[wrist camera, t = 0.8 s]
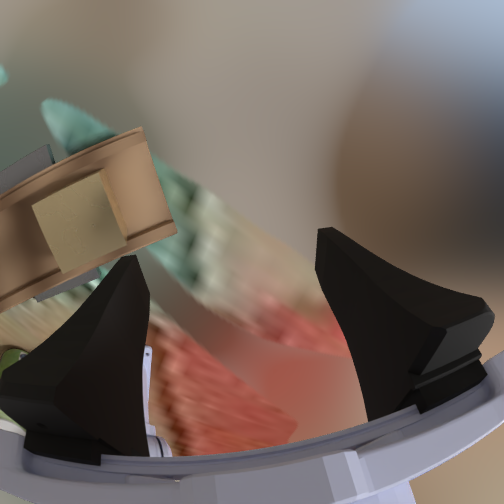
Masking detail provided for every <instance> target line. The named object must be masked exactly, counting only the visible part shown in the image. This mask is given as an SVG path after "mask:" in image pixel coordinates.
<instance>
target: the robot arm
mask: <svg viewBox="0 0 504 504" xmlns="http://www.w3.org/2000/svg"><path fill="white" fill-rule="evenodd" d="M315 271H316V274H317V277H318V280H319V283H320V286H321V289H322V291H323V293H324V295H325V297H326V299H327V301H328V303H329V305H330V307H331V309H332V311H333V313H334V315H335V317H336V319H337V321H338V323H339V325H340V327H341V329H342V332H343V334H344V336H345V339H346V341H347V344H348V347H349V350H350V353H351V356H352V359H353V362H354V366H355V369H356V372H357V376H358V379H359V383H360V387H361V391H362V394H363V399H364V403H365V408H366V413H367V418H368V422H367V423H364V424H361V425H358V426H355V427H352V428H348V429H345V430H342V431H338V432H335V433H331V434H327V435H323V436H320V437H316V438H312V439H307V440H303V441H299V442H294V443H289V444H284V445H279V446H274V447H268V448H262V449H256V450H249V451H241V452H233V453H224V454H214V455H201V456H182V457H172V452H171V449H170V447H169V445H168V444H167V442H166V441H165V439H164V438H162V437H158V436H156V433H155V426H152V425H149V416H148V399H149V383H150V369H151V357H152V348H151V347H150V346H145V343H146V336H147V329H148V321H149V311H150V292H149V290H148V287H147V284H146V282H145V279H144V276H143V273H142V271H141V268H140V265H139V262H138V259H137V256H136V255H130V256H124V257H121V258H120V260H118V262H117V263H116V264H115V265H114V266H113V268H112V269H111V270H110V271H109V273H108V274H107V275H106V276H105V278H104V279H103V280H102V281H101V283H100V284H99V285H98V286H97V288H96V289H95V290H94V291H93V292H92V294H91V295H90V296H89V297H88V298H87V299H86V301H85V302H84V303H83V304H82V305H81V306H80V308H79V309H78V310H77V311H76V312H75V313H74V314H73V315H72V316H71V317H70V318H69V319H68V320H67V321H66V322H65V323H64V324H63V325H62V326H61V327H60V328H59V329H58V330H57V331H55V332H54V333H53V334H52V335H51V336H50V337H49V338H48V339H46V340H45V341H44V342H43V343H42V344H40V345H39V346H38V347H37V348H35V349H34V350H33V351H31V352H30V353H29V354H27V355H26V356H24V357H23V358H21V359H20V360H18V361H17V362H15V363H14V364H12V365H10V366H9V367H7V368H6V369H4V370H3V372H2V375H1V378H0V410H1V411H3V412H4V413H5V414H6V415H7V416H8V417H10V418H11V419H12V420H14V421H15V422H16V423H18V424H19V425H20V426H22V427H23V428H24V429H26V435H25V436H23V435H20V434H18V433H14V432H10V431H6V430H3V429H0V490H2V491H5V492H7V493H9V494H12V495H14V496H16V497H19V498H21V499H24V500H27V501H29V502H32V503H35V504H416V502H415V499H414V496H413V494H412V490H411V487H410V484H409V482H408V481H410V480H412V479H414V478H416V477H418V476H420V475H422V474H424V473H426V472H428V471H430V470H432V469H433V468H435V467H437V466H439V465H441V464H442V463H444V462H446V461H448V460H449V459H451V458H453V457H455V456H456V455H458V454H460V453H461V452H463V451H464V450H466V449H467V448H469V447H470V446H472V445H474V444H475V443H476V442H478V441H479V440H481V439H482V438H484V437H485V436H487V435H488V434H489V433H491V432H492V431H493V430H495V429H496V428H498V427H499V426H500V425H501V424H503V423H504V350H503V351H502V352H500V353H499V354H497V355H495V356H494V357H492V358H490V359H489V360H487V361H486V362H485V363H484V364H483V365H482V364H481V362H480V361H479V359H480V358H481V356H482V354H481V353H480V351H479V349H478V347H479V346H480V344H481V343H482V342H483V340H484V339H485V337H486V336H487V334H488V333H489V331H490V329H491V328H492V326H493V323H494V318H495V315H494V313H493V312H492V310H491V309H490V308H489V306H488V305H487V304H486V302H485V301H484V300H483V299H482V298H480V297H476V296H472V295H468V294H464V293H459V292H456V291H453V290H450V289H446V288H443V287H440V286H438V285H435V284H432V283H430V282H427V281H425V280H422V279H420V278H418V277H415V276H413V275H411V274H409V273H407V272H405V271H403V270H401V269H399V268H397V267H395V266H393V265H392V264H390V263H388V262H386V261H385V260H383V259H381V258H380V257H378V256H376V255H375V254H373V253H372V252H370V251H368V250H367V249H365V248H364V247H362V246H361V245H359V244H358V243H356V242H355V241H353V240H352V239H350V238H349V237H347V236H346V235H344V234H343V233H341V232H340V231H338V230H336V229H335V228H333V227H329V228H321V229H318V234H317V248H316V261H315ZM146 353H149V354H146ZM174 480H180V481H179V482H175V481H174Z"/></svg>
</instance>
